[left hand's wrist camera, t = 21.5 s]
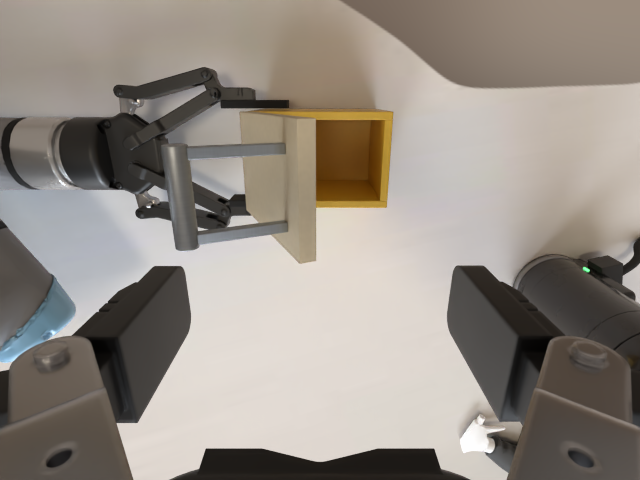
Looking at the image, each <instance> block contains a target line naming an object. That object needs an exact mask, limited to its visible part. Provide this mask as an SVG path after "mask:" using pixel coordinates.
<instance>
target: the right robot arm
mask: <svg viewBox="0 0 640 480" xmlns="http://www.w3.org/2000/svg"><path fill="white" fill-rule="evenodd" d="M201 85H205V88H206V91H205V92H203V93H201V94H200V95H198V96H196V97H195V98H193V99H191V100H190V101H188V102H187V103H185V104H183V105H182V106H180V107H178V108H177V109H175V110H173V111H172V112H170V113H169V114H167V115H165V116H164V117H162V118H160V119H158V120H156V121H154V122H152V123H150V124H149V123H148V122H146V121H145V120H143V119H142V118H140V117H139V116H137V115H136V114H135V109H136V108H138V107H142V106H143V105H144V99H155V98H158V97H162V96H165V95H169V94H173V93H176V92H180V91H183V90H187V89H190V88H194V87H197V86H201ZM113 91H114V94H115V95H116V96H117V97H119V99H120V111H121V113H119V114H118V115H116V116H114V117H76V118H72V119H71V118H68V117H28V118H0V190H19V189H44V190H79V189H85V190H126V191H129V192H131V193H133V194H135V196H136V199H137V203H138V207H139V208H138V209H137V210H136V212H135V213H136V216H137V217H138V218H140V219H146V218H162V219H166V220H170V221H172V220H171V213H170V206H169V202H160V201H159V199H158V198H156V197H153V196H150V195H149V194H148V192H147V191H148V190H149V189H150V188H152V187H153V186H154V185H155V186H157V187H159V188H161V189H164V190H167V186H166V179H165V172H164V165H163V158H162V151H161V145H164V144H168V139H166V138H165V136H164V135H166V134H168V133H169V132H171V131H173V130H174V129H175V128H177V127H178V126H180V125H182V124H183V123H185V122H187V121H188V120H190V119H192V118H193V117H195V116H197V115H198V114H200V113H202V112H203V111H205V110H207V109H208V108H210V107H212V106H213V105H215V104H217V103H218V102H220V101H221V108H289V100H256V97H255V90H254V89H251V88H225V87H223V86H222V85H221V84H220V82H219V80H218V77H217V73H216V71H215V70H213V69H209V68H206V67H202V68H199V69H195V70H192V71H189V72H185V73H182V74H178V75H175V76H171V77H168V78H164V79H161V80H157V81H154V82H150V83H147V84H144V85H140V86H129V85H116V86H115V87H114V89H113ZM192 186H193V194H194V202H195V203H196V204H198V205H200V206H202V207H204V208H206V209H208V210H210V211H212V212H215V213H212V212H208V211H204V210H200V209H195V211H196V219H197V227H200V228H204V229H208V230H212V229H219V228H227V226H228V225H229V223H230V219H231V216H252V215H251V214H250V213H249V212H248V211H247V210H246V196H245V194H235V195H234V196H233V197H232V198H231V199H230V200H228V199H226V198H224V197H222V196H220V195H218V194H216V193H214V192H212V191H210V190H208V189H206V188H204V187H202V186H200V185H198V184H196V183H194V182H192ZM216 213H217V214H216ZM75 312H76V307H75V304H74V303H73V301H72V300H71V299H70V297H69V296H68V295H67V293H66V292H65V291H64V289H63V288H62V287H61V286H60V284H59V283H58V282H57V280H56V278H55V277H54V275H52V274H50V273H49V272H48V271H47V270H46V269H45V268H44V267H43V266H42V264H41V263H40V262H39V261H38V260H37V259H36V258H35V257H34V256H33V255H32V254H31V253H30V251H29V250H28V249H27V248H26V247H25V246H24V245H23V244H22V243H21V242H20V241H19V239H18V238H17V237H16V236H15V235H14V234H13V233H12V232H11V231H10V230H9V229H8V227H7V226H6V225H5V224H4V223H3V221H2V220H1V219H0V362H4V363H7V362H12V361H14V360H15V359H16V358H17V357H18V356H19V355H20V354H22V353H23V352H25V351H26V350H28V349H30V348H31V347H33V346H35V345H38V344H40V343H42V342H45V341H46V340H48V339H49V338H50V337H52V336H53V335H55V334H56V333H58V332H59V331H60V330H61V329H63V328H64V327H65V326H66V325H67V324H68V323H69V322H70V321H71V320H72V318H73V317H74V315H75Z"/></svg>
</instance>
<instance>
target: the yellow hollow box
mask: <svg viewBox="0 0 640 480" xmlns="http://www.w3.org/2000/svg"><path fill="white" fill-rule="evenodd" d="M248 112H262V113H271V114H281V115H291V116H300V117H310V118H316V208H386V207H387V195H388V181H389V166H390V151H391V137H392V122H393V112H391V111H385V110H379V109H260V110H254V111H248Z"/></svg>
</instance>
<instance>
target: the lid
mask: <svg viewBox="0 0 640 480" xmlns="http://www.w3.org/2000/svg"><path fill="white" fill-rule="evenodd" d="M240 125H241V140H242V144H232V145H210V146H188V145H187V144H164V145H161V151H162V158H163V165H164V172H165V179H166V186H167V193H168V199H169V206H170V213H171V220H172V227H173V234H174V241H175V247H176V250H178V251H191V250H195V249H197V248H199V246H200V245H203V244H209V243H216V242H223V241H230V240H237V239H244V238H251V237H257V236H264V235H272V236H273V237H274V238H275V239H276V240H277V241H278V242H279V243H280V244H281V245H282V246H283V247H284V248H285V249H286V250H287V251H288V252H289V253H290V255H291V256H292V257H293V258H294V259H295V260H296V261H297V262H298V263H299V264H302V263H307V262H313V261H316V118H310V117H300V116H291V115H281V114H271V113H262V112H240ZM235 157H243V168H244V182H245V196H246V210H247V211H248V212H249V213H250V214H251V215H252V216H253V217H254V218H255V219H256V220H257V221H258V222H259V223H257V224H250V225H242V226H235V227H227V228H219V229H212V230H204V231H198V227H197V219H196V211H195V202H194V194H193V186H192V177H191V169H190V161H189V160H201V159H218V158H235Z"/></svg>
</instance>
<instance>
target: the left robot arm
mask: <svg viewBox="0 0 640 480" xmlns="http://www.w3.org/2000/svg"><path fill="white" fill-rule="evenodd" d="M633 249H634V256H633V258H632V259H631V260H630V261H629V262H628V263H627V264H625V265H624V266H623V263H621V262H619V261H617V260H615V259H613V258H612V257H610V256H603V257H598V258H594V259H589V260H588V264H587V263H585V262H584V261H582V260H580V259H577V260H572V259H570V258H568V257H565V256H562V255H548V256H543V257H540V258H538V259H536V260H534V261H532V262H530V263H529V264H528V265H526V266H525V267H524V268H523V269H522V270H521V272H520V273H519V274H518V276H517V278H516V280H515V283H514V286H513V287H511V286H509V285H508V284H506V283H504V282H499V281H498V280H497V279H496V278H495V277H494V276H493V274H492V273H491V272H490V271H489V270H488V269H487V268H486V267H484V266H456V267H455V268H454V271H453V275H452V282H451V290H450V297H449V304H448V311H447V322H448V328H449V331H450V334H451V336H452V337H453V339H454V341H455V343H456V344H457V346H458V348H459V350H460V352H461V353H462V355H463V357H464V359H465V361H466V362H467V364H468V366H469V368H470V370H471V371H472V373H473V375H474V377H475V378H476V380H477V382H478V384H479V386H480V387H481V389H482V391H483V393H484V395H485V396H486V398H487V400H488V402H489V404H490V405H491V407H492V409H493V411H494V412H495V414H496V416H497V418H498V420H499V421H500V422H521V424H522V425H523V427H522V431H521V434H520V437H519V441H518V444H517V447H516V451H515V454H514V457H513V461H512V464H511V467H510V471H509V474H508V477H507V480H640V304H639V303H637V302H636V301H635V299H636V296H635V293H634V292H633V291H631V290H630V289H628V288H626V287H625V286H623V285H622V278H623V275H625V274H626V273H628V272H629V271H631V270H632V269H634V268H635V267H636V266H637V265H638V264H639V263H640V239H639V240H637V241H636V242H635V243H634V246H633ZM190 323H191V311H190V304H189V297H188V290H187V283H186V276H185V272H184V269H183V268H182V267H181V266H154V267H153V268H152V269H151V270H150V271H149V272H148V273H147V274H146V275H145V276H144V277H143V278H142V279H141V280H140V281H139V282H135V283H133V284H131V285H129V286H127V287H126V288H124V289H122V290H120V291H118V292H117V293H116V294H115V295H114V296H113V297H112V298H111V299H110V300H109V301H108V303H106V304H105V305H104V306H103V307H102V308H100V309H99V312H96V313H95V314H94V315H93V316H92V317H91V318H90V319H89V320H88V321H87V322H86V323H85V324H84V325H83V326H81V327H80V328H79V329H78V330H77V331H76V332H75V333H74V334H73V335H72V336H65V337H59V338H55V339H51V340H48V341H45V342H42V343H40V344H38V345H35V346H33V347H31V348H30V349H28V350H26V351H25V352H23V353H22V354H20V355H19V356H18V357H17V358H16V359H15V360H14V361H13V362H12V364H11V366H10V369H9V370H6V371H1V372H0V480H133V477H132V474H131V471H130V467H129V464H128V461H127V457H126V454H125V451H124V447H123V444H122V441H121V437H120V434H119V431H118V427H117V424H116V423H138V421H139V419H140V417H141V416H142V414H143V412H144V410H145V409H146V407H147V405H148V403H149V402H150V400H151V398H152V396H153V395H154V393H155V391H156V389H157V387H158V386H159V384H160V382H161V380H162V379H163V377H164V375H165V373H166V372H167V370H168V368H169V366H170V364H171V363H172V361H173V359H174V357H175V356H176V354H177V352H178V350H179V349H180V347H181V345H182V343H183V341H184V340H185V338H186V336H187V334H188V332H189V329H190ZM170 480H470V479H468V478H465V477H463V476H461V475H458V474H455V473H452V472H449V471H446V470H442V469H441V468H440V465H439V462H438V459H437V456H436V453H435V450H434V449H375V450H371V451H366V452H362V453H358V454H354V455H350V456H346V457H342V458H338V459H334V460H330V461H325V462H315V461H310V460H306V459H302V458H298V457H294V456H290V455H286V454H282V453H278V452H274V451H269V450H265V449H206V450H205V453H204V456H203V459H202V462H201V465H200V468H199V469H198V470H194V471H191V472H188V473H185V474H182V475H179V476H177V477H175V478H172V479H170Z"/></svg>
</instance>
